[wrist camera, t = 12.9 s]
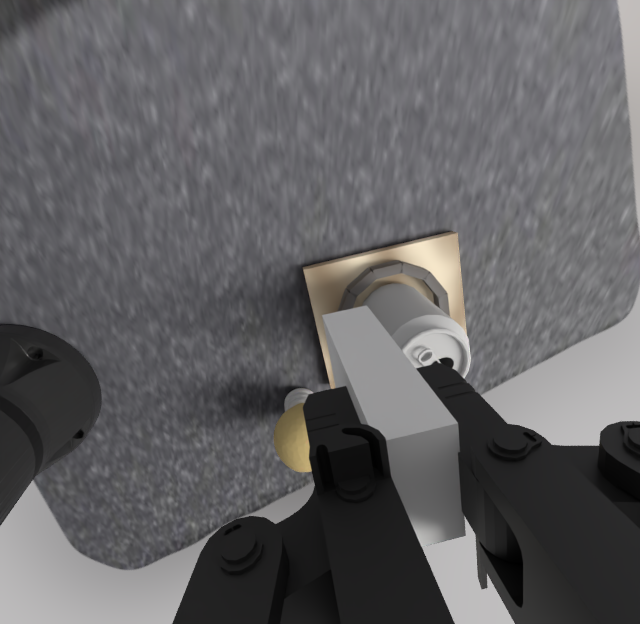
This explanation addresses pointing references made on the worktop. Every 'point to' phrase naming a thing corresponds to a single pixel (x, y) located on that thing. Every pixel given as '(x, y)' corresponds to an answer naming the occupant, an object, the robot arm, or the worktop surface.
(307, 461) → the light bulb
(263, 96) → the worktop surface
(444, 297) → the board
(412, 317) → the can
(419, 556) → the robot arm
